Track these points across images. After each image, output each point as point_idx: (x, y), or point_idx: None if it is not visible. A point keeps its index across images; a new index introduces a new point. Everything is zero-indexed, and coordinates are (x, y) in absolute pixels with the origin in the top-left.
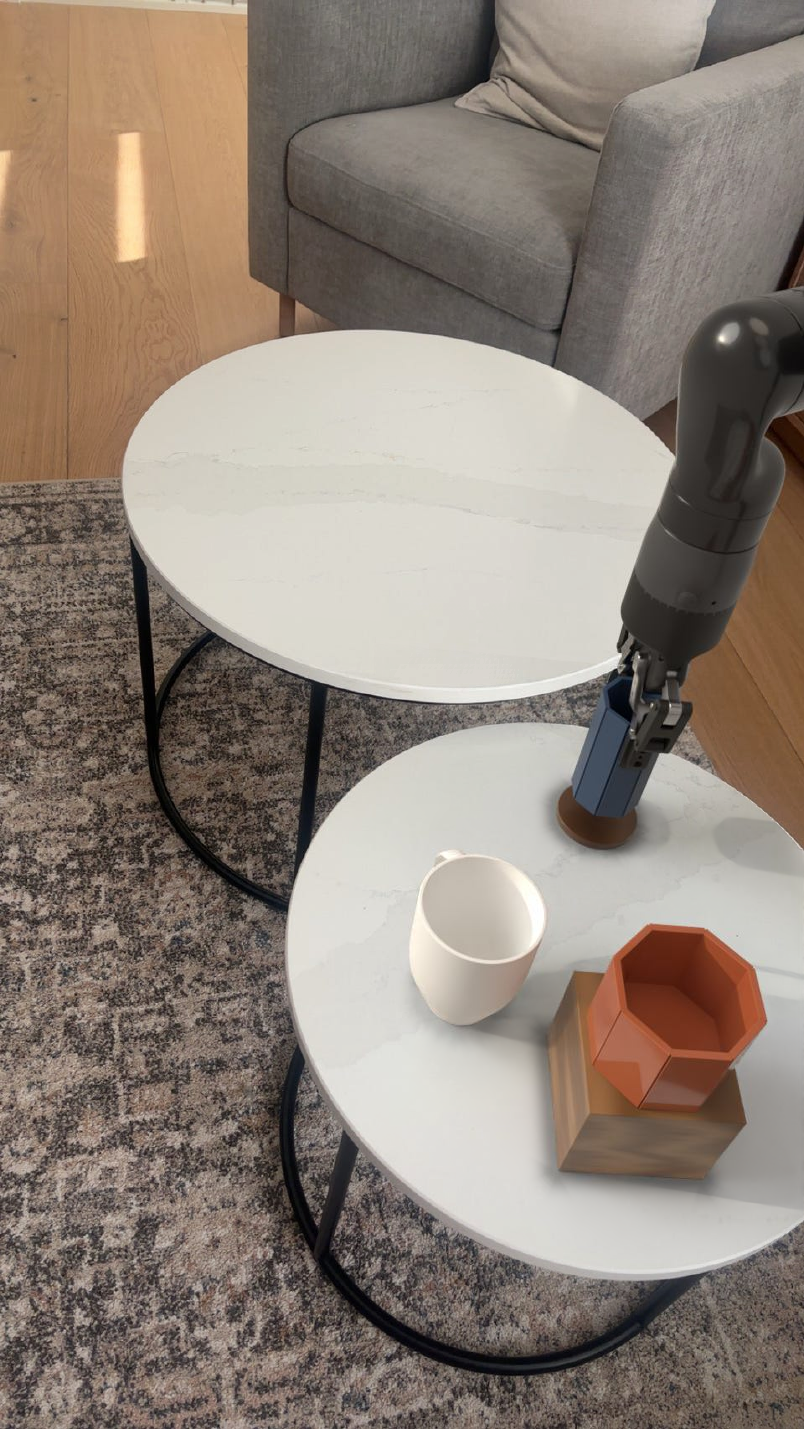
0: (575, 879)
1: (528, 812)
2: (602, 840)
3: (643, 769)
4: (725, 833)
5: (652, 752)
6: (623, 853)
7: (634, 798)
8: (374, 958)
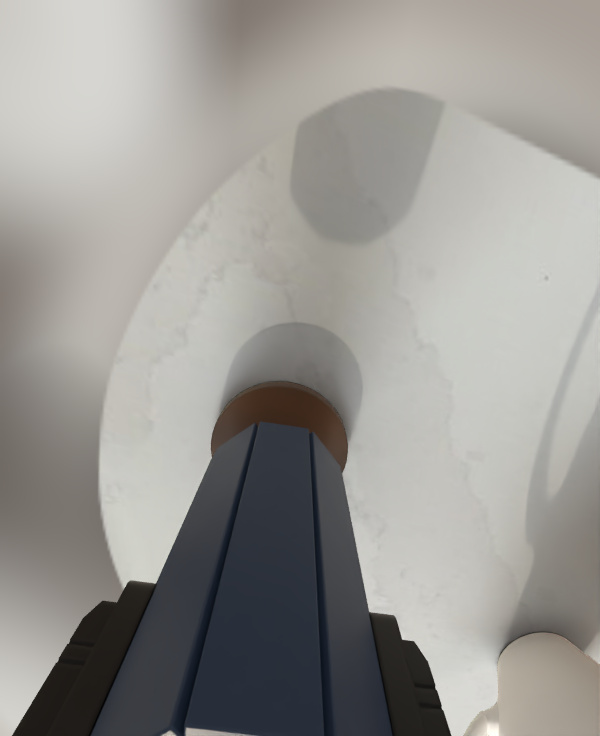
0: (394, 500)
1: None
2: (339, 458)
3: (419, 650)
4: (329, 214)
5: (417, 698)
6: (355, 418)
7: (335, 478)
8: (467, 726)
